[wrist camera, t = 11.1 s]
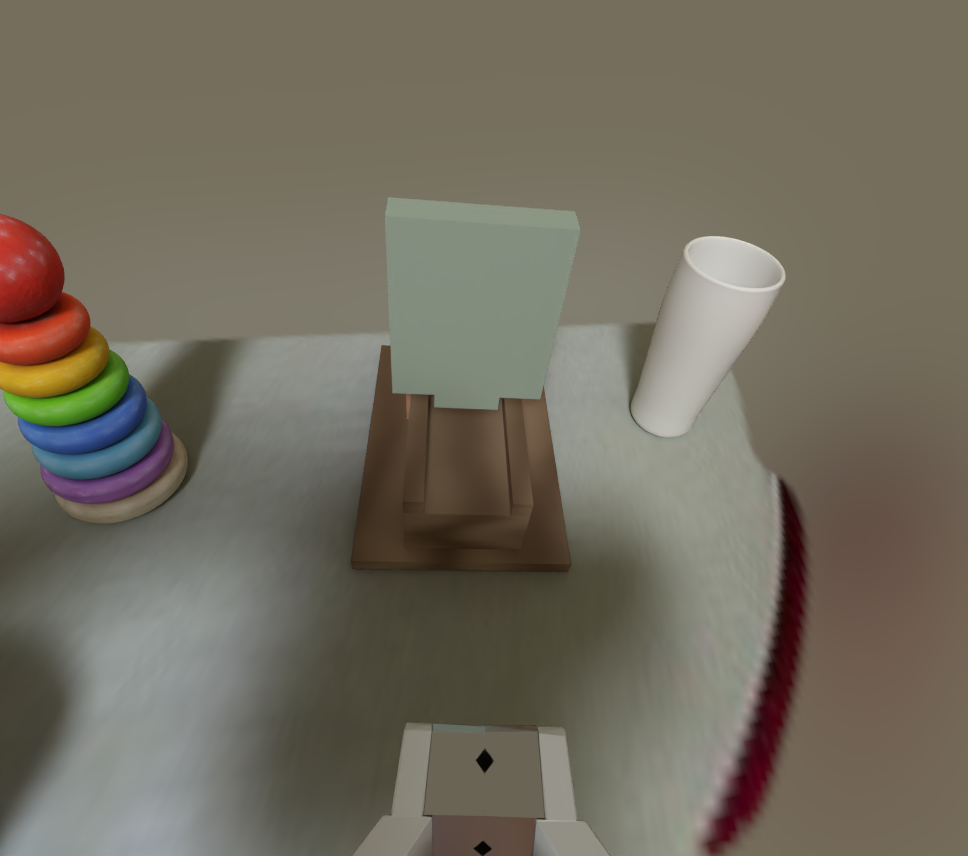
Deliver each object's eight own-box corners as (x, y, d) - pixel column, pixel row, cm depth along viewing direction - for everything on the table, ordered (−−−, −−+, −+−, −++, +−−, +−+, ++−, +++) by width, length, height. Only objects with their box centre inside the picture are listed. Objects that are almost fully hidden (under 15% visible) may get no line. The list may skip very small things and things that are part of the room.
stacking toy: (216, 471, 39) (107, 222, 25) (108, 551, 34) (-99, 299, 21) (146, 420, 42) (12, 168, 28) (36, 488, 37) (-191, 225, 23)
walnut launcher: (352, 568, 35) (343, 515, 31) (382, 354, 49) (378, 295, 45) (567, 571, 36) (589, 520, 32) (536, 361, 50) (548, 305, 46)
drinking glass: (615, 386, 49) (674, 229, 38) (690, 393, 49) (769, 240, 38) (625, 443, 45) (695, 284, 34) (707, 451, 45) (803, 296, 34)
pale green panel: (392, 405, 38) (384, 215, 28) (395, 385, 39) (388, 197, 29) (537, 411, 38) (580, 229, 28) (534, 391, 40) (575, 211, 30)
